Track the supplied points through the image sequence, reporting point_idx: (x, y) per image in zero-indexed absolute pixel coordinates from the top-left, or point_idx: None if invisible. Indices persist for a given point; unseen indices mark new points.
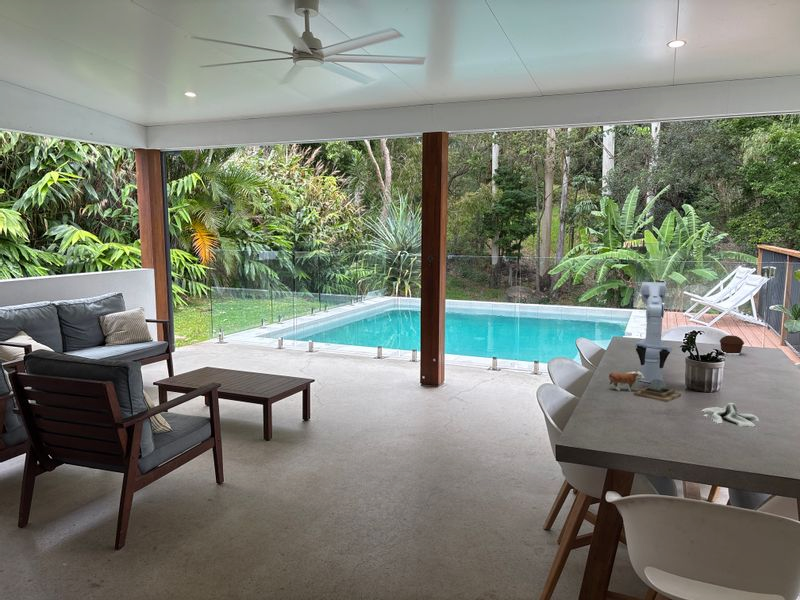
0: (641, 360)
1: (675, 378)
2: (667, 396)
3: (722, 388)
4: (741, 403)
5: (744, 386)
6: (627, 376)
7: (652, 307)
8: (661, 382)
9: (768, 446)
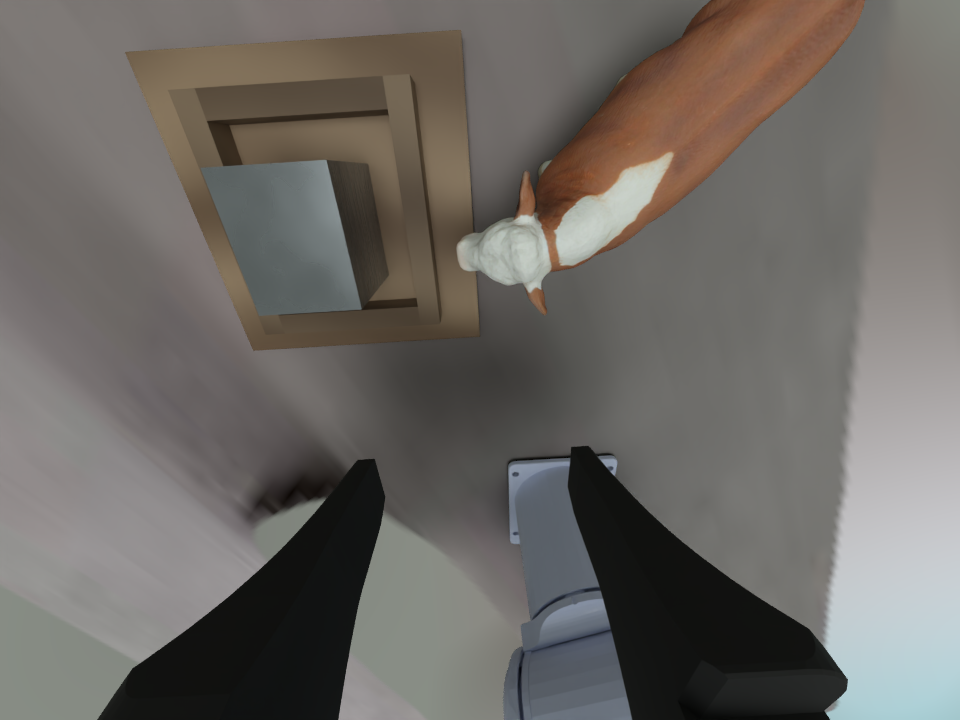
0: (599, 484)
1: (493, 589)
2: None
3: None
4: (8, 440)
5: None
6: (617, 118)
7: None
8: (212, 193)
9: None
